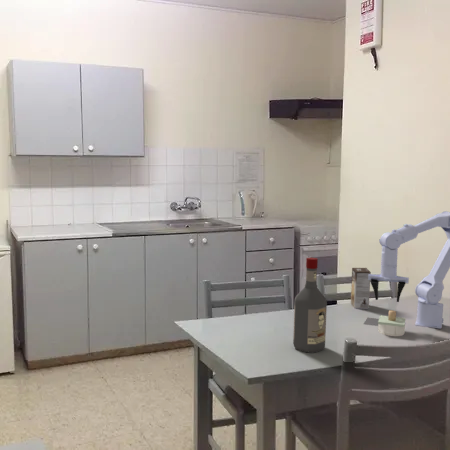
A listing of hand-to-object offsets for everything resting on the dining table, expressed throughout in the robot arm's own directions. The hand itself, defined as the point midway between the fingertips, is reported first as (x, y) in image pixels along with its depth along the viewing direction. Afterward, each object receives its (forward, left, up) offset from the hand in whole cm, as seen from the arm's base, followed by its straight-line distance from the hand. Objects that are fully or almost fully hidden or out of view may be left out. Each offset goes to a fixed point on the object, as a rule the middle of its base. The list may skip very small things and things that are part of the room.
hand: (387, 300), depth 214 cm
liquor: (+20, +37, -10) cm, 44 cm away
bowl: (-3, +8, -10) cm, 13 cm away
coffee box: (+14, -25, -10) cm, 30 cm away
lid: (-3, +8, -6) cm, 11 cm away
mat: (+3, -3, -10) cm, 11 cm away
